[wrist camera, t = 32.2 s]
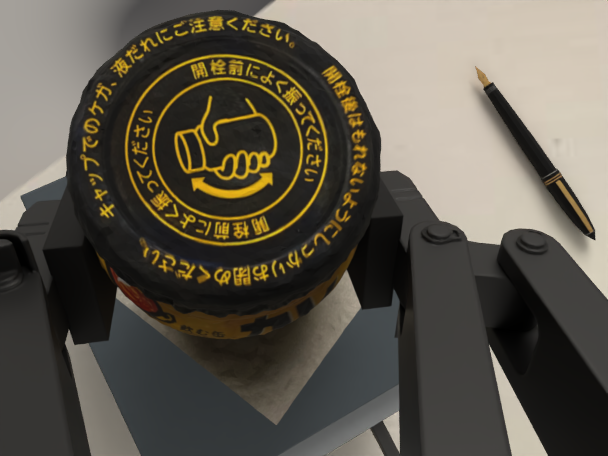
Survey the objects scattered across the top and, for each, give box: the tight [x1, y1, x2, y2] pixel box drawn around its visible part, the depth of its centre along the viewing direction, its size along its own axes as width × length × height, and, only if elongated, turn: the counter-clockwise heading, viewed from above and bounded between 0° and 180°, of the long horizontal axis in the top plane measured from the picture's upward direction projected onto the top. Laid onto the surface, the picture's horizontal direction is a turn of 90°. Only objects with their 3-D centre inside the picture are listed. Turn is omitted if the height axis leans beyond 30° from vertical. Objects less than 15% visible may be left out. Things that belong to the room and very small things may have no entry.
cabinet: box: [21, 176, 400, 456], centre depth 28 cm, size 15×13×10 cm
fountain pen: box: [475, 66, 595, 240], centre depth 36 cm, size 14×1×2 cm, turn 33°
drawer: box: [278, 384, 400, 456], centre depth 27 cm, size 18×11×8 cm, turn 28°
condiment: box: [66, 10, 381, 425], centre depth 14 cm, size 7×8×12 cm
